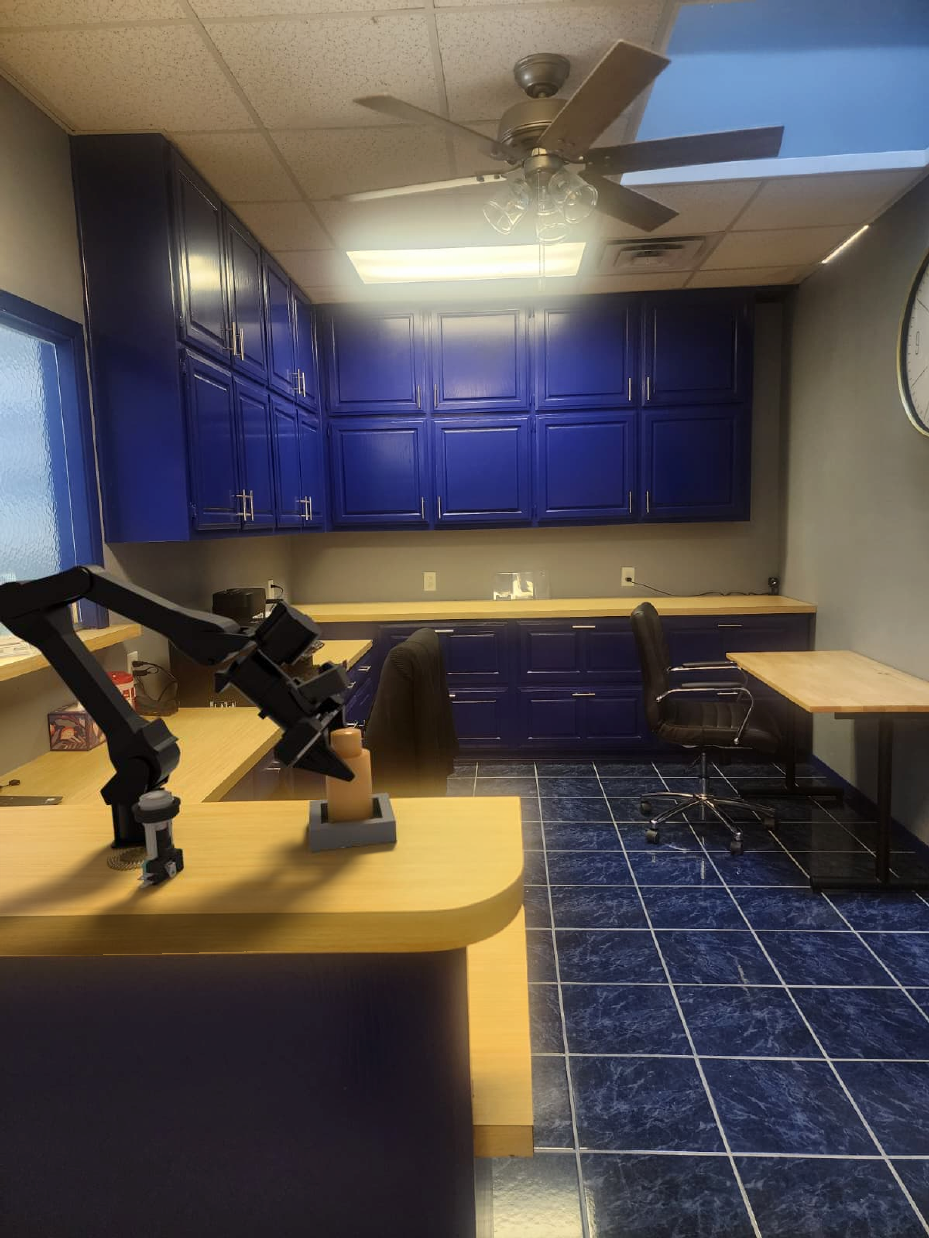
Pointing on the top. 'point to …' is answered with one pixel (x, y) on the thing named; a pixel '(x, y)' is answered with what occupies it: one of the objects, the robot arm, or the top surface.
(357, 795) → the peach lotion bottle
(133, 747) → the robot arm
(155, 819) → the push button
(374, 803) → the socket
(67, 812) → the top surface
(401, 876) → the top surface
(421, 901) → the top surface
